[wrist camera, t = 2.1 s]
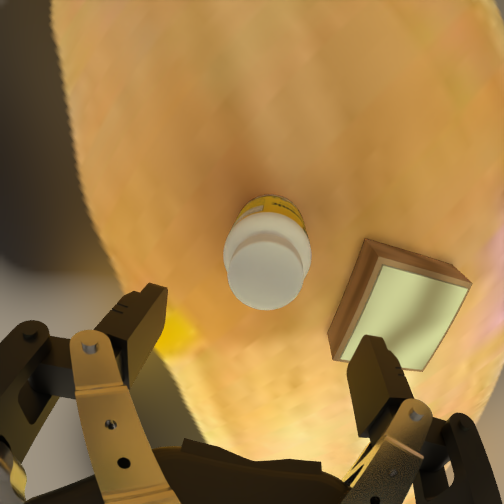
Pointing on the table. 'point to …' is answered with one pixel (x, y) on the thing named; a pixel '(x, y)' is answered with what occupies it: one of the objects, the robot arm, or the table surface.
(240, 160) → the table surface
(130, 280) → the table surface
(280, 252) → the supplement bottle
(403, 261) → the pedestal
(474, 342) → the table surface
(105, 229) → the table surface
